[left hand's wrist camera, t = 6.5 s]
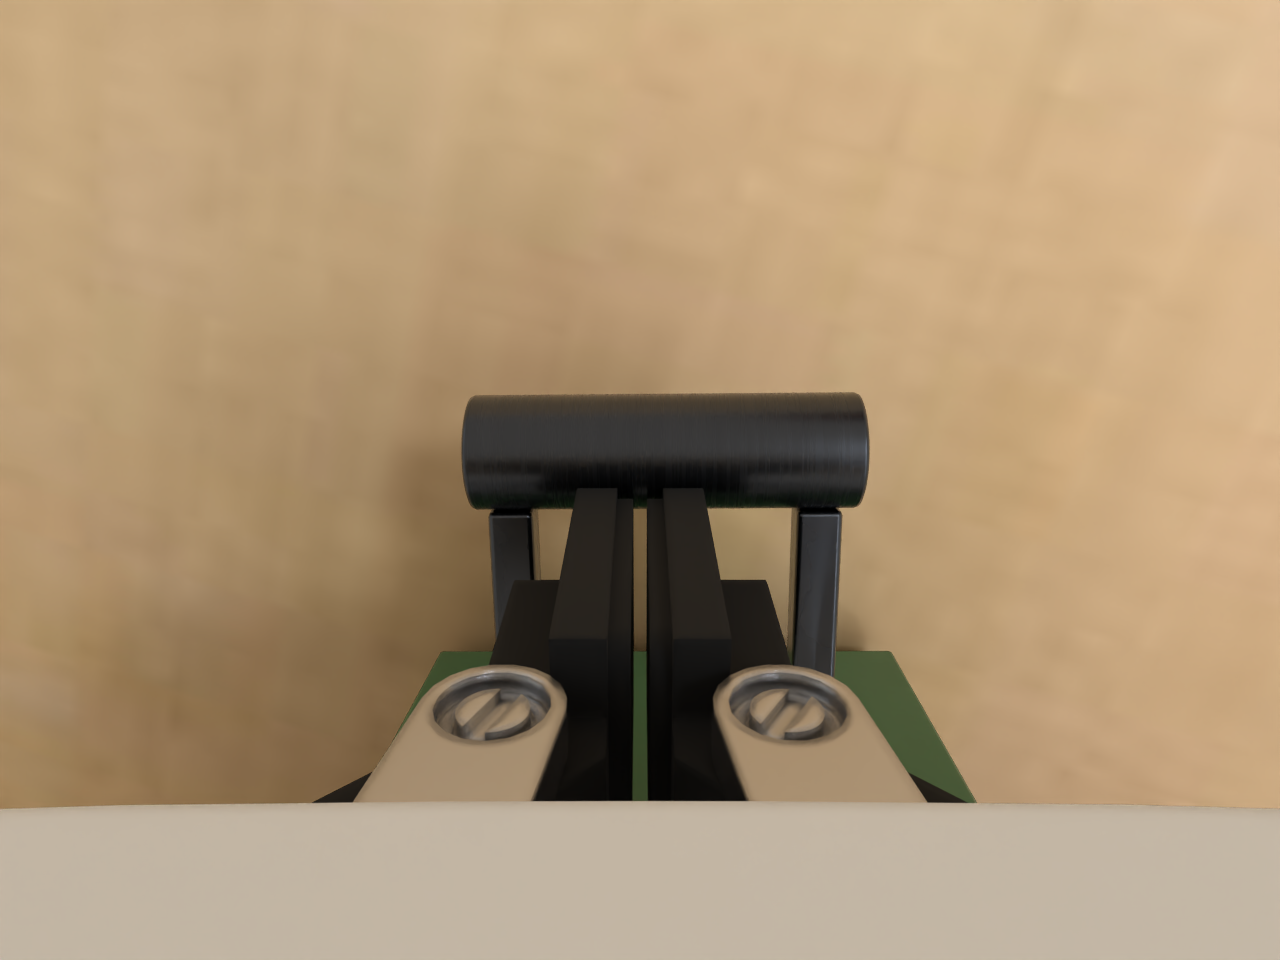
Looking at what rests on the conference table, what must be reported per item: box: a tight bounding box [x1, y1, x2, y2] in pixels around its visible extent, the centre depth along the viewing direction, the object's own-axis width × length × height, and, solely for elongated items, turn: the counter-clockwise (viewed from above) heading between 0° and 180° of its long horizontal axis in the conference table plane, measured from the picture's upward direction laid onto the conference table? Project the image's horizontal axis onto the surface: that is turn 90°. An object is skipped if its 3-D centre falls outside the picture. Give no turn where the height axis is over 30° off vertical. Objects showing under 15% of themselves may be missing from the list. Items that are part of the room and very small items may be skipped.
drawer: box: [392, 392, 977, 803], centre depth 16 cm, size 21×9×7 cm, turn 0°
